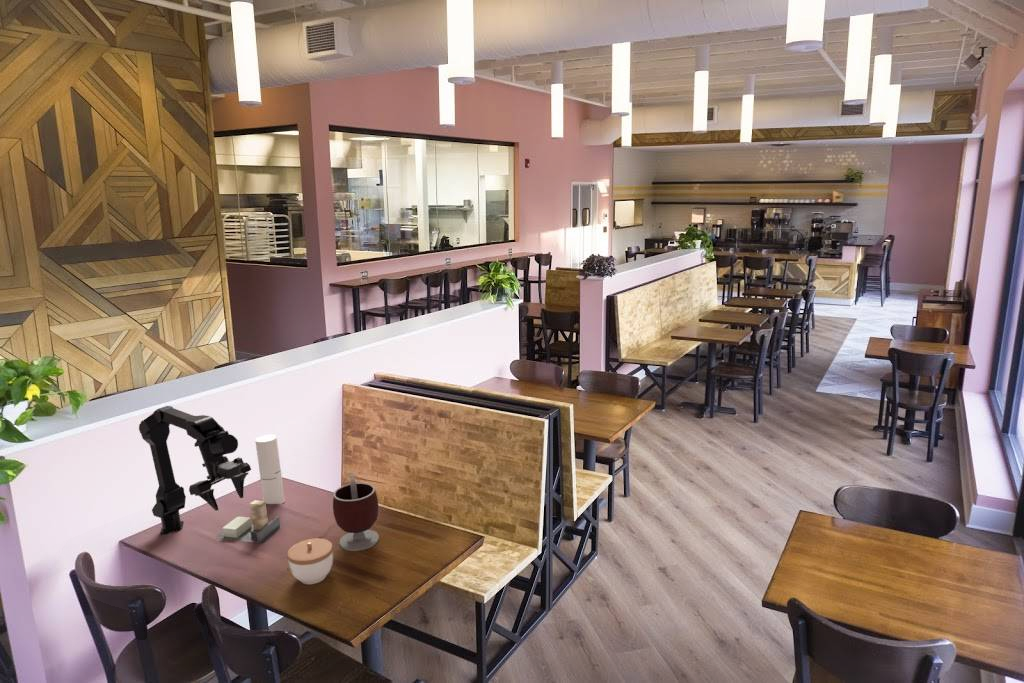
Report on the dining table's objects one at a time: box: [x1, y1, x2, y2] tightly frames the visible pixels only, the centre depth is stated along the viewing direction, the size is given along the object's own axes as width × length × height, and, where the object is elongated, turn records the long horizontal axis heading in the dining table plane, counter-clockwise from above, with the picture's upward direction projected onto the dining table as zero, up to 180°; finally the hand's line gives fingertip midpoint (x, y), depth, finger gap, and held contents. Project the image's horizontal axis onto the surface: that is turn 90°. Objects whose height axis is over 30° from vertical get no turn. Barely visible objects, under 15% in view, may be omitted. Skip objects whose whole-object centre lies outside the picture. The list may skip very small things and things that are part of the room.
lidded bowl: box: [286, 537, 334, 585], centre depth 197 cm, size 13×13×11 cm
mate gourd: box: [332, 472, 380, 552], centre depth 216 cm, size 16×14×20 cm
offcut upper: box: [222, 515, 252, 534], centre depth 224 cm, size 5×8×2 cm, turn 165°
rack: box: [214, 516, 283, 544], centre depth 223 cm, size 18×11×5 cm, turn 75°
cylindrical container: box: [254, 434, 286, 505], centre depth 244 cm, size 7×7×25 cm
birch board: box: [249, 499, 269, 530], centre depth 221 cm, size 4×2×11 cm, turn 75°
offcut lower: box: [222, 521, 252, 538], centre depth 224 cm, size 5×8×2 cm, turn 165°
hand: (229, 504), depth 212 cm, fingers open, 9 cm apart
